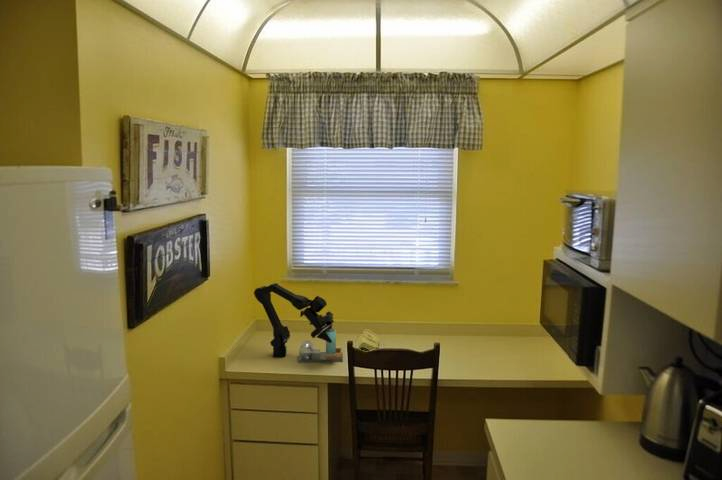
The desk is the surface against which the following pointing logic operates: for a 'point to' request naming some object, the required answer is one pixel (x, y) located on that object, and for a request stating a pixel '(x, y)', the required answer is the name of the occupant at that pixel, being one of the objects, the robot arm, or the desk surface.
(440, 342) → the desk surface
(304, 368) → the desk surface
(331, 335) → the teal cylinder grey dome
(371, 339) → the plastic component
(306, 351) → the motor assembly
